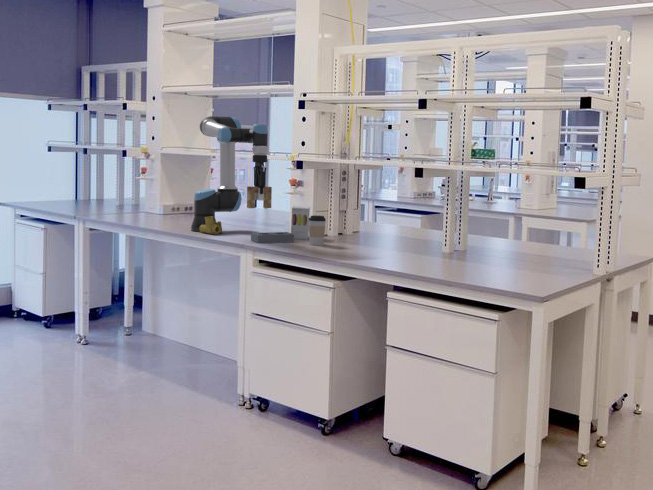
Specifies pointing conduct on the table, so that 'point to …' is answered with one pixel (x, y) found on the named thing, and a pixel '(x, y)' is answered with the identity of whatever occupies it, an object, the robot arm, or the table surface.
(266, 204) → the clip
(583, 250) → the table surface
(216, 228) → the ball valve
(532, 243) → the table surface
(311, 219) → the coffee cup
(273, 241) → the grey tray
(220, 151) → the robot arm
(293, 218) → the supplement box
